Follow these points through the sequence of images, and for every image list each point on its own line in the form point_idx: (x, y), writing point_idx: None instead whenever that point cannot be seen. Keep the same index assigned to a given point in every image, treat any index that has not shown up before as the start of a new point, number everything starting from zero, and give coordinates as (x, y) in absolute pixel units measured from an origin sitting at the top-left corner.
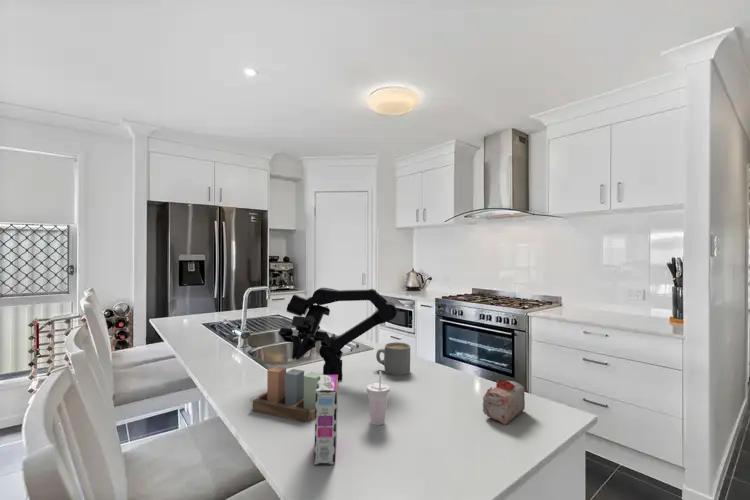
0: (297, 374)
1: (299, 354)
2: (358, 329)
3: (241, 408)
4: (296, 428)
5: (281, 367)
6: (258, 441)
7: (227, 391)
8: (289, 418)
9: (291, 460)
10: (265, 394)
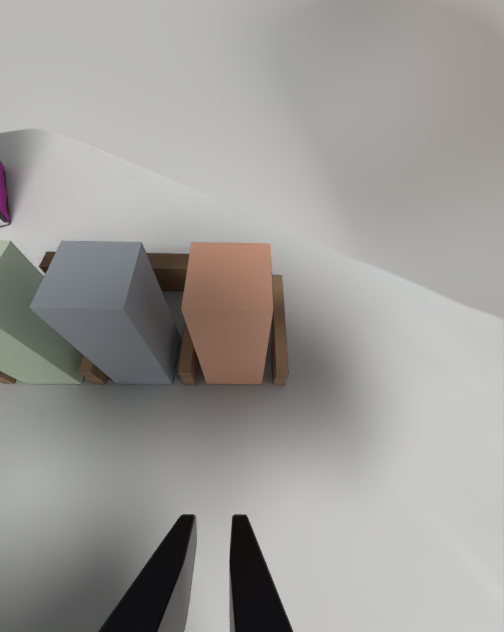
0: (58, 247)
1: (147, 569)
2: None
3: (310, 279)
4: None
5: (220, 306)
6: (151, 189)
7: (490, 364)
8: None
9: (55, 168)
10: (274, 324)
